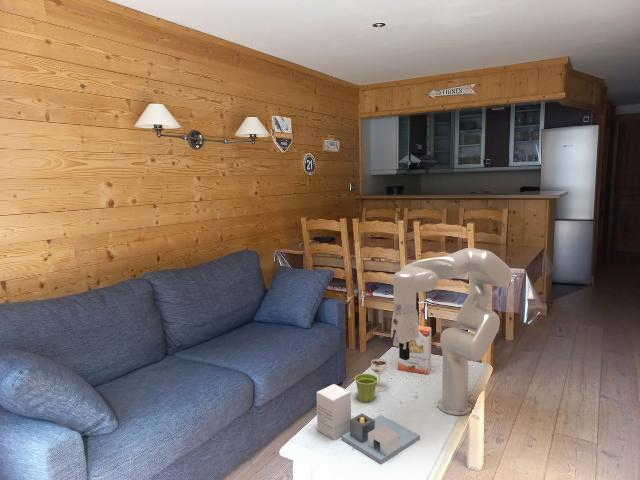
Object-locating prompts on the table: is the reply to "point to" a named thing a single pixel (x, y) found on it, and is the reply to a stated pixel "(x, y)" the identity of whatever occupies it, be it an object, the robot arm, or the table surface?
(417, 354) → the cracker box
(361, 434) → the block
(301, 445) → the table surface
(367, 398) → the plant pot
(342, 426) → the supplement box
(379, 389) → the wineglass
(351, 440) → the assembly board
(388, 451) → the housing cover
